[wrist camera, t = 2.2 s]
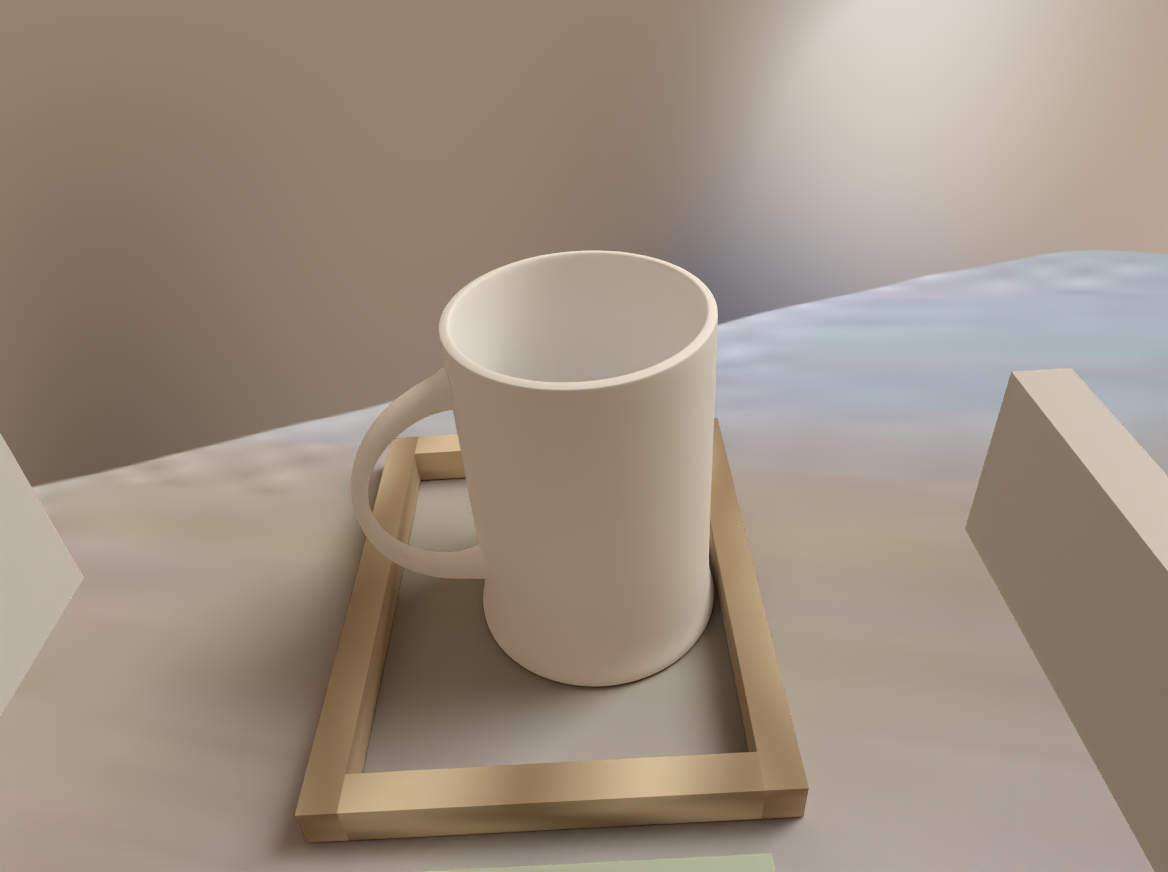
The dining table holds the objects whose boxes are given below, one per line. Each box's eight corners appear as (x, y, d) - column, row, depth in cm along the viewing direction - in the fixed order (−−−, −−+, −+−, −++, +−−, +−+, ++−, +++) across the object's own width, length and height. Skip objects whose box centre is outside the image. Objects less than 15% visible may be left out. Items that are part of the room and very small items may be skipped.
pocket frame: (716, 445, 38) (717, 418, 38) (803, 816, 25) (808, 788, 24) (398, 464, 39) (391, 438, 38) (307, 842, 25) (294, 815, 24)
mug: (403, 738, 28) (307, 445, 20) (390, 555, 34) (315, 285, 27) (749, 656, 29) (775, 359, 22) (672, 497, 36) (673, 229, 29)
